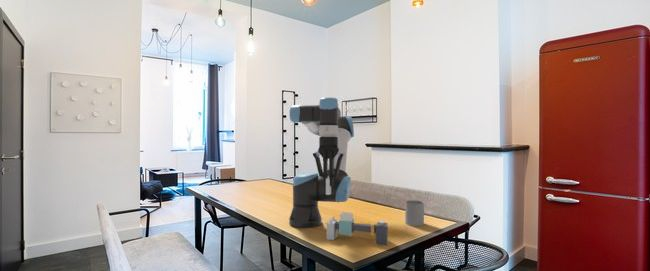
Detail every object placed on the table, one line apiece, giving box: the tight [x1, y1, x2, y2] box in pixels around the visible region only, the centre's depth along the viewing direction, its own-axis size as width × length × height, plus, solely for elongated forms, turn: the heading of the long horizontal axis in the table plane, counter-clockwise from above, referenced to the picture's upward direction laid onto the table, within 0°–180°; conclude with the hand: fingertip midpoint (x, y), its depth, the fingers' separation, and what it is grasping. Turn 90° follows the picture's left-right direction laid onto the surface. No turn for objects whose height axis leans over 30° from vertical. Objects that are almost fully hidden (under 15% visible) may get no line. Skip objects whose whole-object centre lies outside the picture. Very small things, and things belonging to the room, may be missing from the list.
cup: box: [404, 199, 425, 227], centre depth 149 cm, size 8×8×10 cm
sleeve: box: [338, 211, 355, 236], centre depth 128 cm, size 5×5×8 cm
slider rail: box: [326, 216, 389, 246], centre depth 127 cm, size 24×6×8 cm, turn 74°
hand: (328, 194), depth 130 cm, fingers closed
